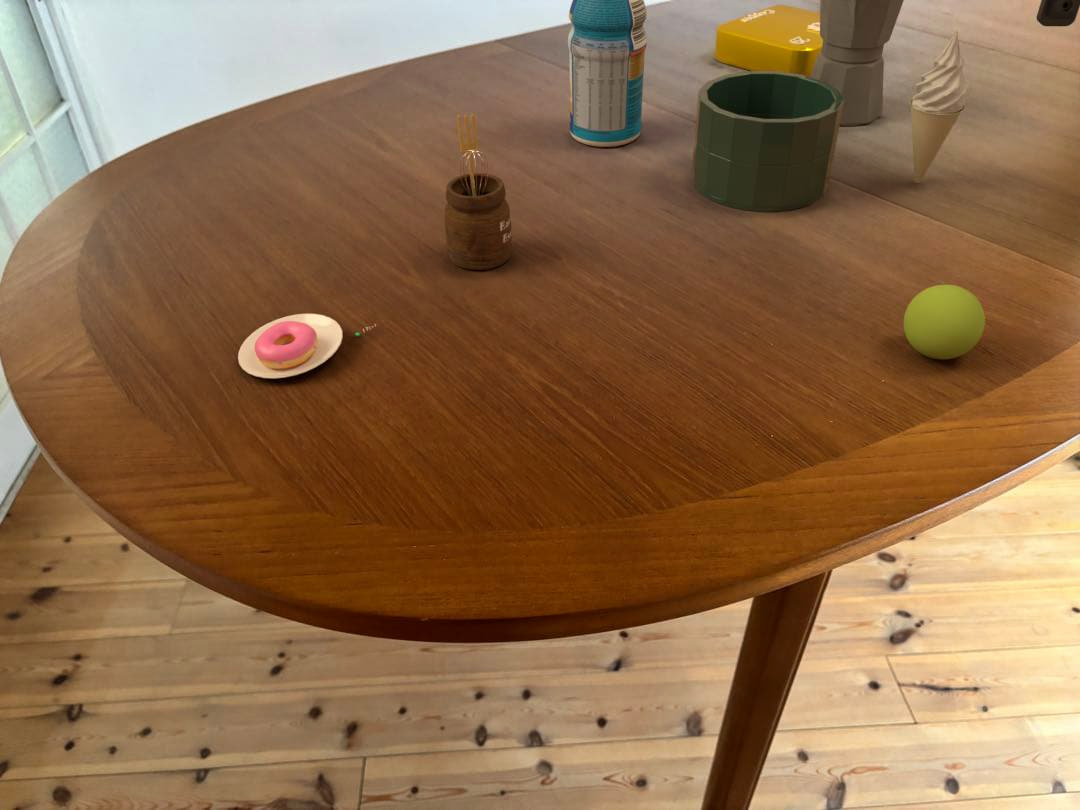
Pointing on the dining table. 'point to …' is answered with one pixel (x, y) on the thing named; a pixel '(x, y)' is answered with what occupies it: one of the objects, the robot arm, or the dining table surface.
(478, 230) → the utensil holder
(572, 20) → the beverage bottle
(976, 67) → the dining table surface
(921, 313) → the guava
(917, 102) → the ice cream cone
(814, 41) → the element tile
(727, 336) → the dining table surface
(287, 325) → the donut
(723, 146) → the pot
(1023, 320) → the dining table surface
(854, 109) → the coffeepot
